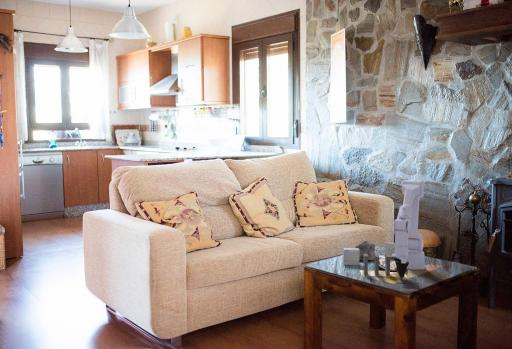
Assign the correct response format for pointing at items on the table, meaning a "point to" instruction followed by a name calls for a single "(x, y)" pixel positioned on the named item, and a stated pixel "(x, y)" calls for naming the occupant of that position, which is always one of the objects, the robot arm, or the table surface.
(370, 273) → the board
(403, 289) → the table surface
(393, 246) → the cassette
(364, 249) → the mineral rock
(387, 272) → the domino
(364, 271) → the end domino
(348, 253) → the medicine box
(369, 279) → the table surface
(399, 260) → the loose domino
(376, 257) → the domino
